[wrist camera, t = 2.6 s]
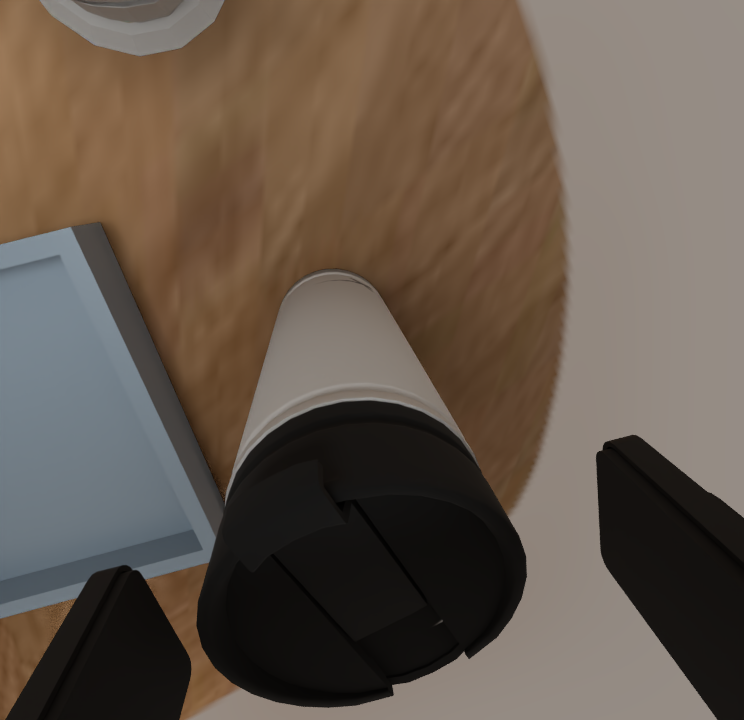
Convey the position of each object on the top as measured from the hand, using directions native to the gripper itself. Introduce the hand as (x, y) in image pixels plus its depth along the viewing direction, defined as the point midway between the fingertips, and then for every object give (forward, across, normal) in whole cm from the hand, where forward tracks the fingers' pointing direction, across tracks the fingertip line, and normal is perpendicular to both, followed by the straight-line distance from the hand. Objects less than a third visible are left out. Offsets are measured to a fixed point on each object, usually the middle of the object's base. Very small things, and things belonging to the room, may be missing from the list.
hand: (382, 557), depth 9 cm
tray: (+18, +20, +2) cm, 27 cm away
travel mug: (+19, +1, 0) cm, 19 cm away
